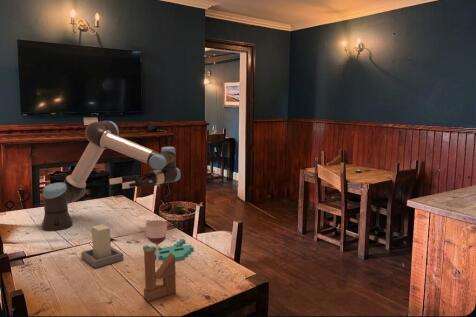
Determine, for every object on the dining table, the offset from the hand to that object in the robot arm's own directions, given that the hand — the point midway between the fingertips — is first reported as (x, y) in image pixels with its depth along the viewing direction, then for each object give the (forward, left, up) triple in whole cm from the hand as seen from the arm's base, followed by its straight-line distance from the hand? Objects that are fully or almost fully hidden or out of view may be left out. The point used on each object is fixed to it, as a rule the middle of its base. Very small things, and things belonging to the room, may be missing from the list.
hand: (115, 183), depth 190 cm
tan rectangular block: (+10, -24, -28) cm, 38 cm away
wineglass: (+39, -25, -28) cm, 55 cm away
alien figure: (+34, -7, -29) cm, 45 cm away
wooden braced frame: (+51, -42, -28) cm, 72 cm away
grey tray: (+10, -24, -28) cm, 38 cm away
